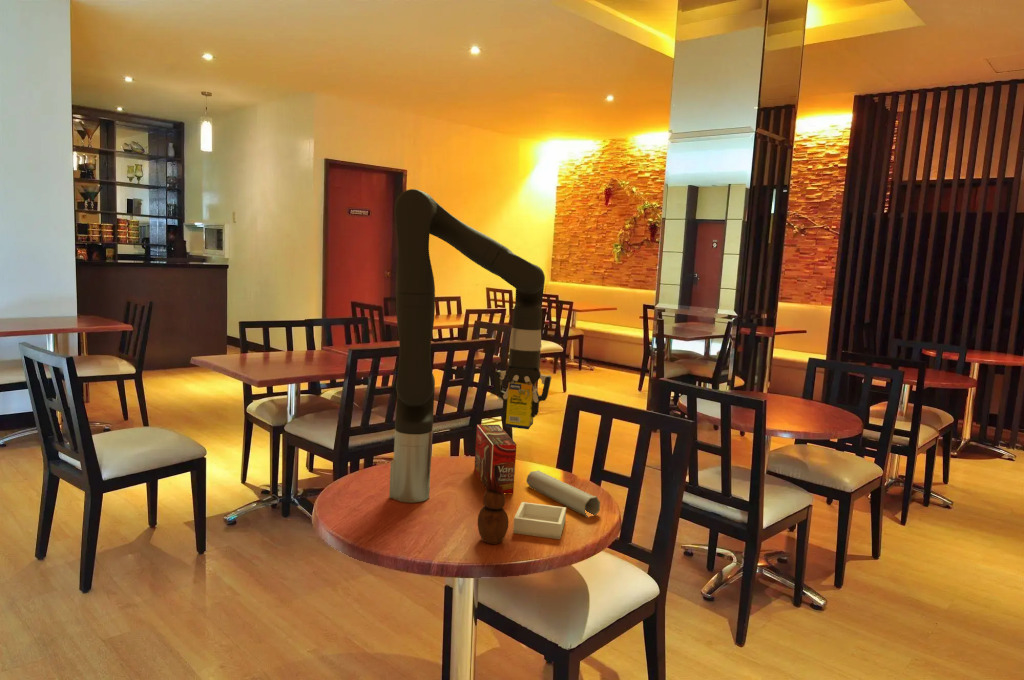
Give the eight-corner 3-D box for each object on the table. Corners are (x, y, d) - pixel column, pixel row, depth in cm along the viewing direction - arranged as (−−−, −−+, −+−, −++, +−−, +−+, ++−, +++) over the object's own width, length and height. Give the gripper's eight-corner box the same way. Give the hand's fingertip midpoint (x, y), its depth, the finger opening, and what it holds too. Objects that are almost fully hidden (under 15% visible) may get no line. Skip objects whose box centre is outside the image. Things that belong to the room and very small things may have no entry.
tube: (521, 473, 186) (582, 502, 166) (536, 464, 188) (598, 492, 168) (525, 490, 187) (586, 522, 167) (540, 481, 190) (602, 511, 170)
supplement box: (529, 430, 166) (532, 385, 165) (504, 427, 167) (507, 382, 166) (533, 424, 172) (536, 380, 170) (509, 421, 173) (512, 378, 172)
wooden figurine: (472, 537, 151) (476, 471, 150) (494, 532, 155) (498, 467, 153) (489, 549, 146) (493, 480, 144) (511, 544, 149) (515, 476, 147)
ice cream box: (474, 470, 198) (476, 424, 196) (496, 469, 200) (498, 424, 198) (489, 494, 179) (492, 444, 177) (513, 494, 180) (516, 444, 179)
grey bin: (512, 533, 155) (513, 518, 155) (521, 515, 166) (522, 501, 165) (560, 539, 153) (561, 524, 153) (565, 521, 164) (566, 507, 163)
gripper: (492, 346, 165) (488, 415, 167) (552, 351, 162) (547, 422, 164) (499, 342, 172) (494, 408, 174) (556, 348, 169) (551, 415, 172)
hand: (520, 414), depth 169 cm, fingers closed on supplement box, 6 cm apart
